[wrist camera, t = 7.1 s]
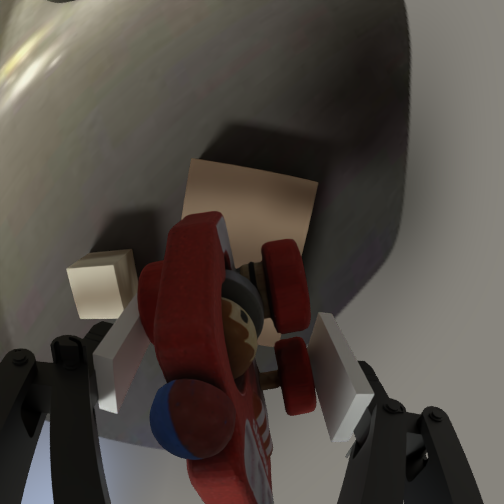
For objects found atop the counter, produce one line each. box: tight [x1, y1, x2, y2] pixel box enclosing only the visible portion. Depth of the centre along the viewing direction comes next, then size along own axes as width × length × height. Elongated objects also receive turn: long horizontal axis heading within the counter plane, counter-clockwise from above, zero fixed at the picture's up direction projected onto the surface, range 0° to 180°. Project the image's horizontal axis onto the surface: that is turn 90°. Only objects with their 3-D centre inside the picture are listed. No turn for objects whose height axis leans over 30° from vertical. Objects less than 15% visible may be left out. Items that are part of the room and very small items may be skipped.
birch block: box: [67, 249, 138, 319], centre depth 27 cm, size 5×5×5 cm
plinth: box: [181, 158, 318, 347], centre depth 27 cm, size 15×10×4 cm, turn 169°
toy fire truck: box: [137, 211, 316, 504], centre depth 11 cm, size 7×12×10 cm, turn 9°
